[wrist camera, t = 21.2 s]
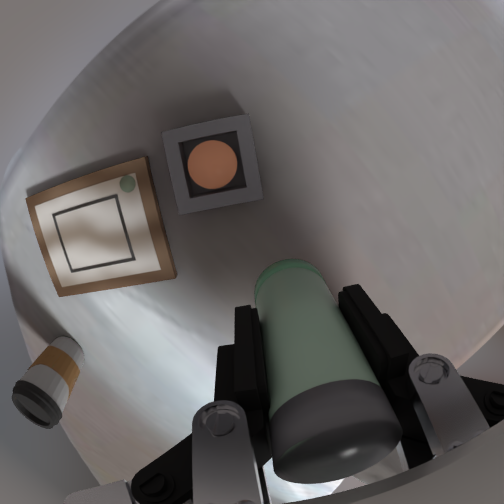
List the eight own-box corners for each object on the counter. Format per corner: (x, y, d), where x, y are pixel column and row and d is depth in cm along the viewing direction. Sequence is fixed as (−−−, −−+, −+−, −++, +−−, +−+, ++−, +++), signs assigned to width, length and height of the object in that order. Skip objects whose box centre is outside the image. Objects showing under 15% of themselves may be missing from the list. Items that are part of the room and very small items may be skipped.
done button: (241, 181, 31) (241, 183, 30) (195, 190, 32) (193, 193, 30) (232, 136, 30) (232, 135, 28) (186, 145, 30) (183, 146, 28)
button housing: (261, 193, 33) (263, 199, 30) (184, 208, 34) (179, 215, 30) (247, 116, 30) (248, 113, 27) (168, 133, 30) (161, 132, 27)
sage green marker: (325, 313, 13) (389, 464, 6) (260, 325, 13) (279, 490, 6) (321, 253, 12) (415, 401, 5) (248, 265, 12) (264, 439, 5)
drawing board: (177, 274, 37) (175, 279, 35) (62, 293, 37) (58, 297, 36) (147, 156, 31) (144, 156, 30) (30, 196, 32) (24, 198, 30)
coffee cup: (78, 374, 43) (47, 435, 29) (44, 344, 40) (4, 400, 26) (98, 355, 41) (64, 423, 27) (60, 321, 39) (15, 382, 25)
